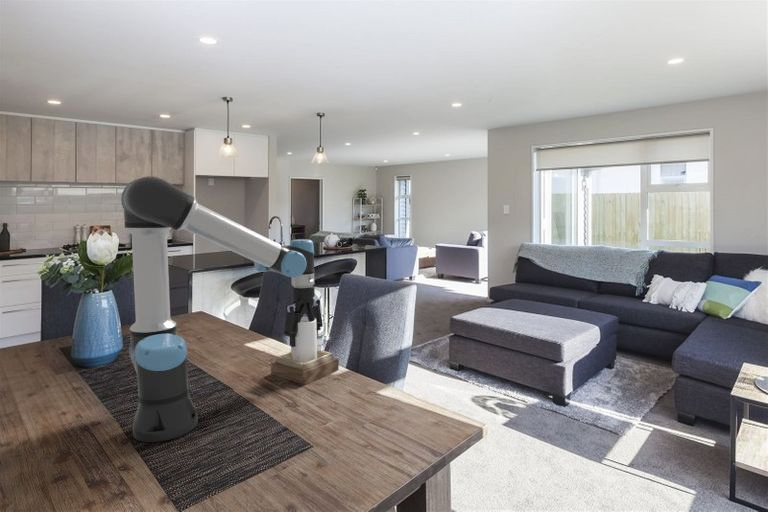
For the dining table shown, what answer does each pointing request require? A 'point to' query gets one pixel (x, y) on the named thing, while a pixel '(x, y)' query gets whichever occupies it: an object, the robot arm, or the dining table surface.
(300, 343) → the cup
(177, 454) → the dining table surface
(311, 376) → the box
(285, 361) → the birch crate
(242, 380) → the dining table surface
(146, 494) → the dining table surface
